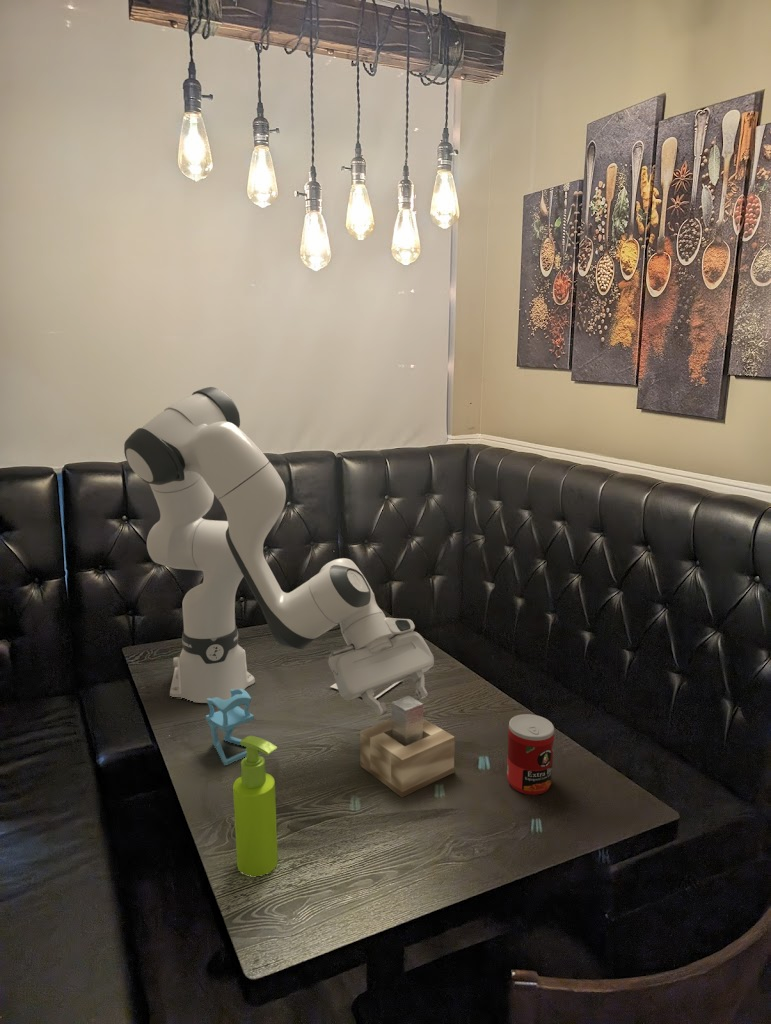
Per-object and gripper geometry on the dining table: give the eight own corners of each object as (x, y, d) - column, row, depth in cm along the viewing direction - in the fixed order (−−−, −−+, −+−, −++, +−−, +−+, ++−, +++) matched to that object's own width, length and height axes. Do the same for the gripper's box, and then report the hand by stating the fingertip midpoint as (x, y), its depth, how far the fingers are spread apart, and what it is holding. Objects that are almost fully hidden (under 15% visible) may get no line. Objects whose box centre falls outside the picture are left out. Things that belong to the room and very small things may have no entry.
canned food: (525, 800, 117) (528, 741, 115) (497, 776, 124) (499, 719, 122) (561, 788, 121) (564, 730, 119) (531, 765, 128) (534, 709, 125)
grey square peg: (391, 763, 127) (391, 702, 124) (408, 755, 129) (408, 695, 127) (405, 773, 124) (405, 710, 121) (422, 765, 126) (423, 703, 124)
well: (360, 765, 128) (360, 730, 126) (411, 744, 135) (411, 710, 133) (402, 797, 118) (402, 760, 117) (453, 772, 126) (454, 736, 124)
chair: (236, 734, 139) (233, 678, 136) (261, 750, 133) (258, 691, 131) (202, 749, 133) (198, 691, 131) (225, 766, 128) (222, 705, 125)
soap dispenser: (264, 886, 98) (259, 757, 94) (228, 867, 102) (221, 743, 98) (291, 861, 103) (287, 738, 99) (256, 844, 107) (250, 725, 103)
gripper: (330, 645, 123) (364, 718, 118) (418, 617, 135) (452, 682, 130) (317, 660, 127) (349, 731, 122) (403, 632, 140) (436, 695, 134)
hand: (403, 705), depth 126 cm, fingers open, 8 cm apart
